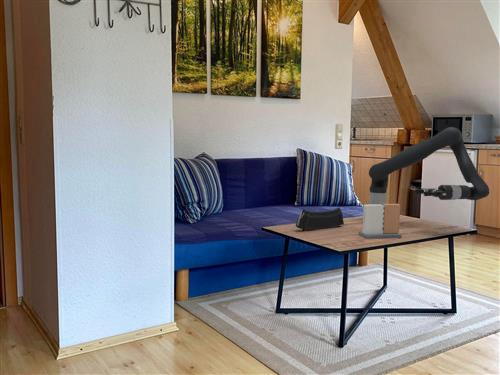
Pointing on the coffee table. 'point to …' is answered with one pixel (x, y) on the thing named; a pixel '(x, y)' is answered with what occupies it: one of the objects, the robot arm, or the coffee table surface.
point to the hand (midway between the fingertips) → (419, 192)
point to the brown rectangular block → (391, 218)
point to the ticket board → (375, 223)
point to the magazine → (319, 219)
